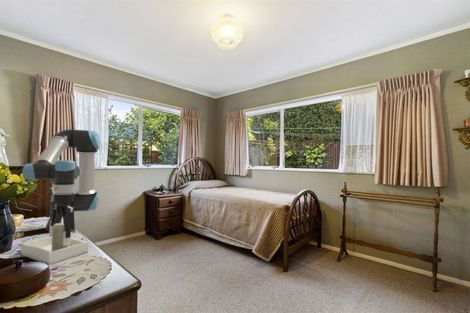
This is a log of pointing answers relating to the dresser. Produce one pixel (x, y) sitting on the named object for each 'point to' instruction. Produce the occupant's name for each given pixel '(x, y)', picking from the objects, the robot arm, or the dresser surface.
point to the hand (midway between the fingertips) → (61, 243)
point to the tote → (44, 253)
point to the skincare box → (58, 237)
